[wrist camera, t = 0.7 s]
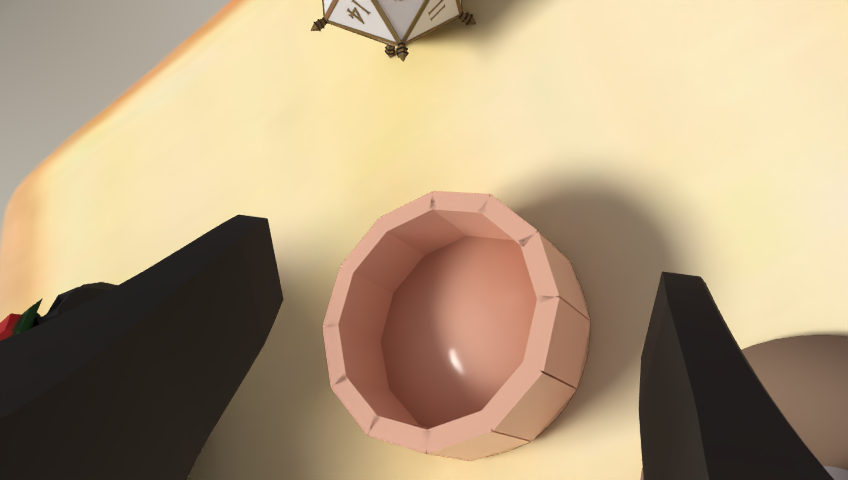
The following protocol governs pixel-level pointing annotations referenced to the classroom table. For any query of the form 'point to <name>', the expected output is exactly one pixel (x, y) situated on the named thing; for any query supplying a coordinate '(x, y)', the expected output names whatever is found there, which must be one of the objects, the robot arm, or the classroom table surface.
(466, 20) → the game die
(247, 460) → the classroom table surface
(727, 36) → the classroom table surface
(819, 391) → the lid
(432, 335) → the pink round pot
